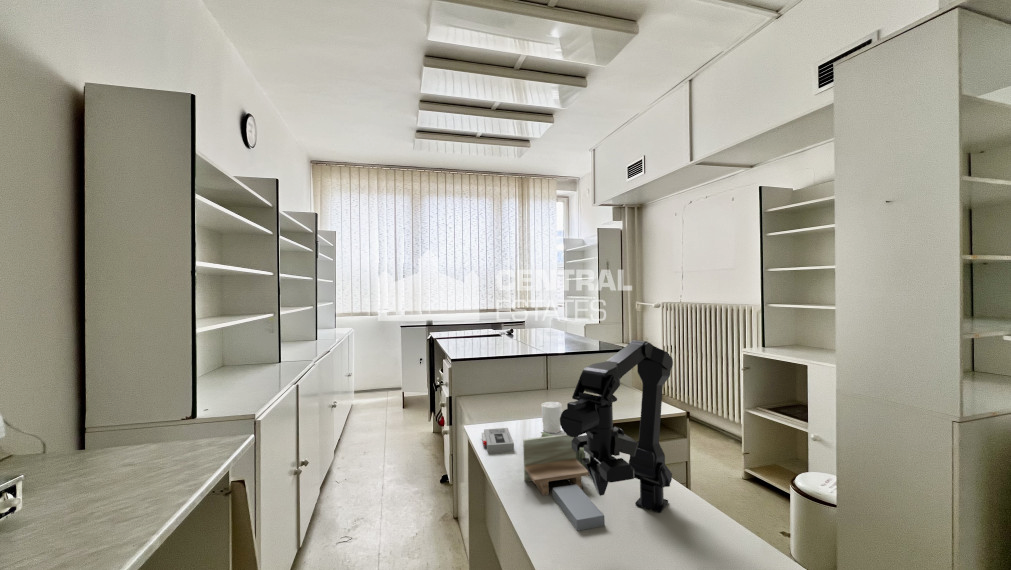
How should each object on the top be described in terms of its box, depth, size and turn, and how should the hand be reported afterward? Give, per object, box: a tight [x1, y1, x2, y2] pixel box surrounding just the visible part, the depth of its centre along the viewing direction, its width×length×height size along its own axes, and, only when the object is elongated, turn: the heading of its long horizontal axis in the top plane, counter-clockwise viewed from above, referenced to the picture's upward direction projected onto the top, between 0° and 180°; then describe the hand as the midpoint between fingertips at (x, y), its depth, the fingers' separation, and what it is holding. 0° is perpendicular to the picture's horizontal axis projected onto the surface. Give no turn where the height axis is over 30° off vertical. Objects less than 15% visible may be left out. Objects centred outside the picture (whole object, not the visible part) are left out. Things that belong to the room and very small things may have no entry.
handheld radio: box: [540, 431, 586, 468], centre depth 139 cm, size 7×3×25 cm
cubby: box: [522, 433, 590, 496], centre depth 121 cm, size 10×16×12 cm, turn 104°
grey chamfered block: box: [552, 484, 606, 531], centre depth 107 cm, size 16×7×2 cm, turn 14°
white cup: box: [541, 401, 563, 434], centre depth 165 cm, size 8×8×10 cm
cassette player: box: [481, 427, 515, 454], centre depth 153 cm, size 16×3×10 cm
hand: (601, 494), depth 94 cm, fingers closed
